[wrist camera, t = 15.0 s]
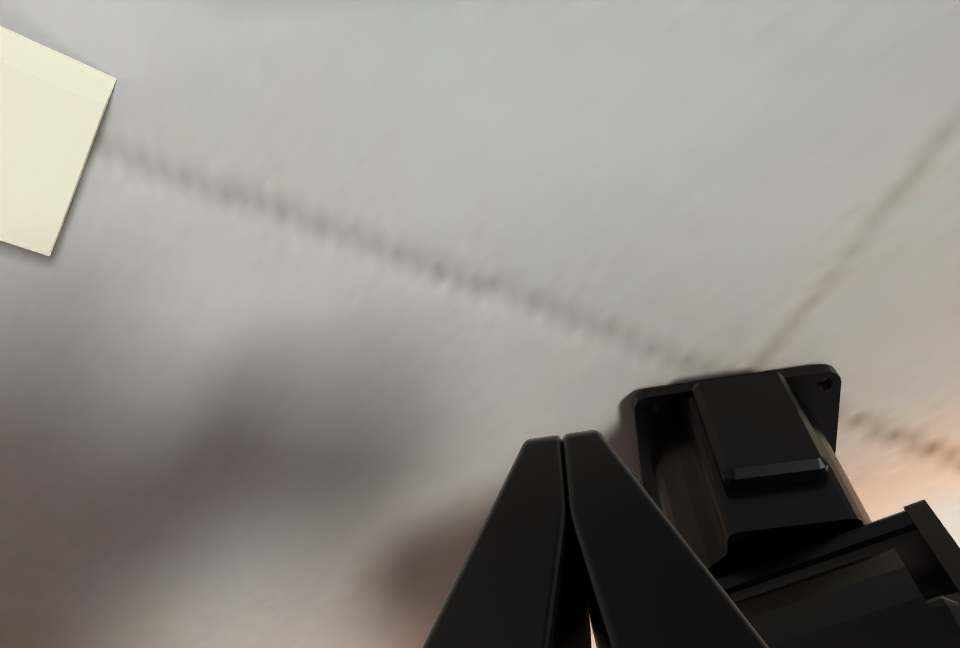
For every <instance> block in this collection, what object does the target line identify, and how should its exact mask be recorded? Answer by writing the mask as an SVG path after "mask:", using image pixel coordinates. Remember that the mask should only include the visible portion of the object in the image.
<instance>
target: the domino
mask: <svg viewBox="0 0 960 648" xmlns="http://www.w3.org/2000/svg"><path fill="white" fill-rule="evenodd" d="M116 80H117V78H114V77H112V76H110V75H108V74H105V73H103V72H101V71H99V70H97V69H94V68H92V67H90V66H88V65H85V64H83V63H81V62H79V61H77V60H74V59H72V58H70V57H68V56H66V55H63V54H61V53H59V52H57V51H54V50H52V49H50V48H48V47H46V46H43V45H41V44H39V43H37V42H35V41H32V40H30V39H28V38H26V37H23V36H21V35H19V34H17V33H15V32H12V31H10V30H8V29H6V28H4V27H1V26H0V240H1V241H4V242H7V243H10V244H13V245H16V246H19V247H22V248H25V249H28V250H31V251H34V252H37V253H41V254H44V255H47V256H50V254H51V252H52V250H53V247H54V245H55V243H56V240H57V238H58V235H59V233H60V231H61V228H62V226H63V224H64V221H65V218H66V215H67V213H68V210H69V207H70V205H71V202H72V199H73V196H74V194H75V191H76V188H77V186H78V183H79V180H80V177H81V175H82V172H83V169H84V167H85V164H86V161H87V158H88V156H89V153H90V150H91V148H92V145H93V142H94V140H95V137H96V134H97V131H98V129H99V126H100V123H101V121H102V118H103V115H104V112H105V110H106V107H107V104H108V102H109V99H110V96H111V93H112V91H113V88H114V85H115V83H116Z"/></svg>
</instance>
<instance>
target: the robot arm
mask: <svg viewBox="0 0 960 648" xmlns="http://www.w3.org/2000/svg"><path fill="white" fill-rule="evenodd" d="M824 378H827V379H826V380H825V381H824V382H821V383H817V382H818V381H820V380H821V379H824ZM840 390H841V378H840V376H839V375H838V373H837V371H836V370H835V369H834V368H833V367H832V366H830V365H827V364H820V365H813V366H806V367H799V368H792V369H785V370H778V371H771V372H764V373H757V374H750V375H743V376H736V377H729V378H722V379H715V380H708V381H701V382H694V383H687V384H680V385H673V386H666V387H659V388H652V389H646V390H642V391H640V392H638V393H637V394H636V395H635V396H634V398H633V401H632V405H633V414H634V423H635V431H636V440H637V449H638V457H639V466H640V475H641V483H642V485H641V484H640V483H639V481H638V480H637V479H636V478H635V476H634V475H633V474H632V472H631V471H630V470H629V469H628V467H627V466H626V465H625V464H624V462H623V461H622V460H621V458H620V457H619V456H618V455H617V453H616V452H615V451H614V450H613V448H612V447H611V446H610V444H609V443H608V442H607V441H606V439H605V438H604V437H603V436H602V434H601V433H599V432H598V431H596V430H590V431H583V432H576V433H569V434H566V435H565V436H564V437H563V442H562V439H561V438H560V437H559V436H548V437H541V438H534V439H529V440H527V441H526V442H525V443H524V444H523V446H522V448H521V450H520V452H519V454H518V456H517V458H516V460H515V462H514V464H513V466H512V468H511V470H510V472H509V474H508V476H507V478H506V480H505V482H504V484H503V486H502V488H501V490H500V492H499V494H498V496H497V498H496V500H495V502H494V504H493V506H492V508H491V511H490V513H489V515H488V517H487V519H486V521H485V523H484V525H483V527H482V529H481V531H480V533H479V535H478V537H477V539H476V541H475V543H474V545H473V547H472V549H471V551H470V553H469V555H468V557H467V559H466V561H465V563H464V565H463V567H462V569H461V571H460V573H459V575H458V578H457V580H456V582H455V584H454V586H453V588H452V590H451V592H450V594H449V596H448V598H447V600H446V602H445V604H444V606H443V608H442V610H441V612H440V614H439V616H438V618H437V620H436V622H435V624H434V626H433V628H432V630H431V632H430V634H429V636H428V638H427V640H426V643H425V645H424V647H423V648H591V629H590V620H591V625H592V629H593V634H594V638H595V642H596V647H597V648H960V548H959V546H958V545H957V544H956V542H955V541H954V540H953V538H952V537H951V535H950V534H949V533H948V531H947V530H946V529H945V527H944V526H943V524H942V523H941V522H940V520H939V519H938V518H937V516H936V515H935V513H934V512H933V511H932V509H931V508H930V507H929V505H928V504H927V502H926V501H925V500H922V501H919V502H916V503H913V504H910V505H908V506H905V507H903V508H904V510H905V511H902V512H899V513H896V514H894V515H891V516H888V517H885V518H882V519H880V520H877V521H874V522H872V521H871V520H870V518H869V516H868V514H867V512H866V510H865V509H864V507H863V505H862V503H861V501H860V499H859V498H858V496H857V494H856V492H855V490H854V488H853V487H852V485H851V483H850V481H849V479H848V477H847V476H846V474H845V472H844V470H843V468H842V466H841V465H840V463H839V461H838V459H837V457H836V455H835V451H836V439H837V427H838V415H839V402H840ZM647 403H654V404H653V405H652V406H649V407H644V405H645V404H647ZM589 615H590V619H589Z"/></svg>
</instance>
